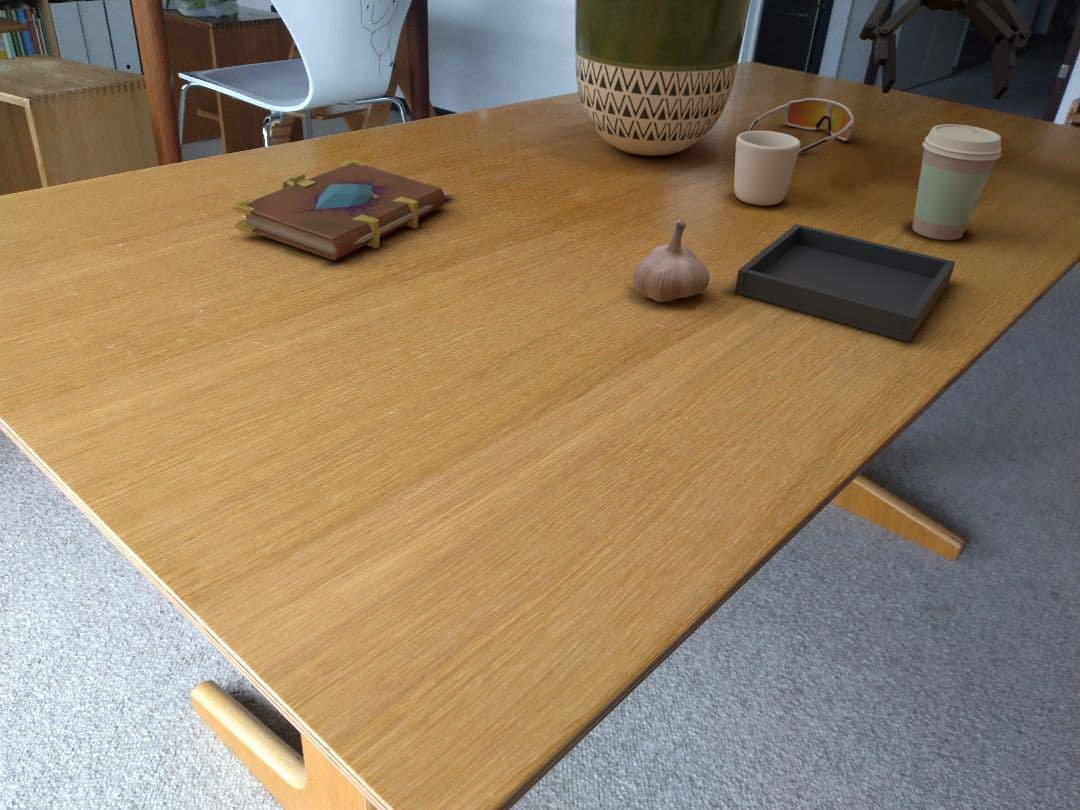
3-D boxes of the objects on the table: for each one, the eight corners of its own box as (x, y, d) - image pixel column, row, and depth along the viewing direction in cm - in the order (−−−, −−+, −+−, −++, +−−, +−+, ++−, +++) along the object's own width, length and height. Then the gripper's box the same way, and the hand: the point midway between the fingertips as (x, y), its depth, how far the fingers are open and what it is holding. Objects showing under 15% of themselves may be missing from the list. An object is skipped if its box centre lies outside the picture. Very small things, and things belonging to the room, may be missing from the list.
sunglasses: (865, 140, 140) (870, 109, 137) (807, 170, 133) (811, 138, 130) (792, 120, 149) (795, 91, 146) (734, 147, 142) (736, 117, 139)
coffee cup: (969, 250, 102) (1002, 147, 96) (894, 234, 106) (921, 134, 99) (978, 228, 109) (1009, 130, 102) (907, 214, 112) (932, 118, 106)
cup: (745, 180, 122) (755, 122, 117) (802, 191, 118) (814, 132, 114) (718, 202, 114) (728, 140, 109) (778, 215, 110) (790, 151, 106)
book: (467, 207, 111) (468, 169, 108) (338, 274, 93) (335, 229, 90) (365, 176, 117) (364, 139, 114) (225, 233, 99) (219, 190, 96)
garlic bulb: (713, 289, 91) (725, 215, 87) (694, 317, 85) (705, 239, 81) (644, 274, 93) (652, 202, 89) (621, 301, 88) (628, 224, 83)
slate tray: (948, 284, 94) (955, 261, 93) (908, 342, 82) (915, 317, 81) (791, 244, 102) (795, 223, 101) (734, 293, 90) (738, 269, 89)
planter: (680, 124, 146) (701, -59, 131) (760, 168, 127) (796, -40, 112) (542, 133, 138) (549, -60, 124) (606, 181, 119) (623, -40, 105)
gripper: (1027, -33, 116) (1032, 112, 111) (836, -42, 117) (833, 101, 113) (1058, -76, 108) (1065, 77, 104) (853, -85, 110) (851, 66, 105)
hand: (944, 90), depth 108 cm, fingers open, 13 cm apart
